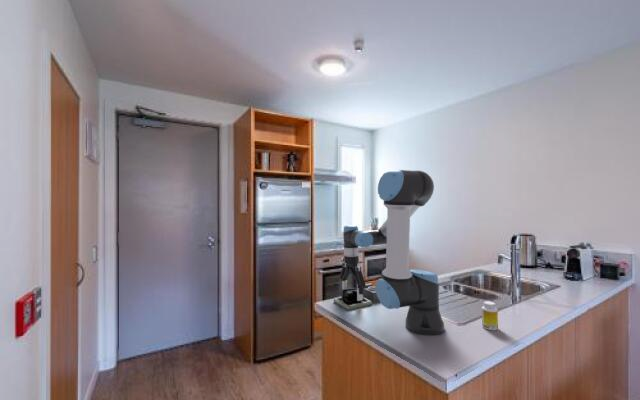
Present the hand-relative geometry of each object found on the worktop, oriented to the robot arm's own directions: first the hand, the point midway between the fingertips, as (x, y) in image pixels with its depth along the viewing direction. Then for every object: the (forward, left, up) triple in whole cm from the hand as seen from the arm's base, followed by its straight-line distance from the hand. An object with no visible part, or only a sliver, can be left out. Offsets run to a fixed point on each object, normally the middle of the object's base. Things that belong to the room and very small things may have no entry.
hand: (352, 296), depth 148 cm
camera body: (+2, -14, -4) cm, 15 cm away
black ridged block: (0, 0, -3) cm, 3 cm away
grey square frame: (0, 0, -4) cm, 4 cm away
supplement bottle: (-52, -32, -4) cm, 61 cm away
